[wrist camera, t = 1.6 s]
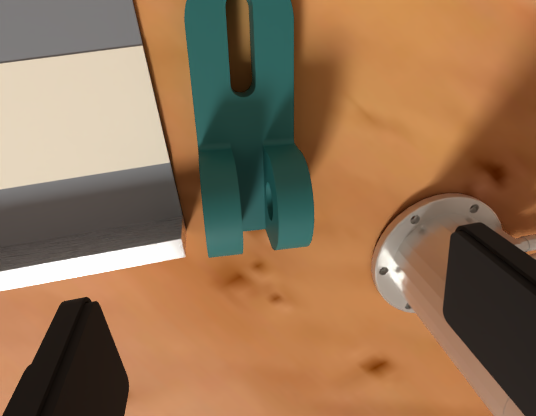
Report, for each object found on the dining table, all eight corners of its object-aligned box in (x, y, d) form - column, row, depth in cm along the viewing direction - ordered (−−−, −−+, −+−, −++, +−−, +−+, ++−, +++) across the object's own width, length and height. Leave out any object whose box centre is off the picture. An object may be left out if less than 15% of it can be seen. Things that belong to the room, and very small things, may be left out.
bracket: (287, 213, 33) (312, 265, 26) (206, 221, 32) (210, 277, 25) (285, -37, 25) (321, -60, 18) (179, -36, 24) (173, -59, 17)
